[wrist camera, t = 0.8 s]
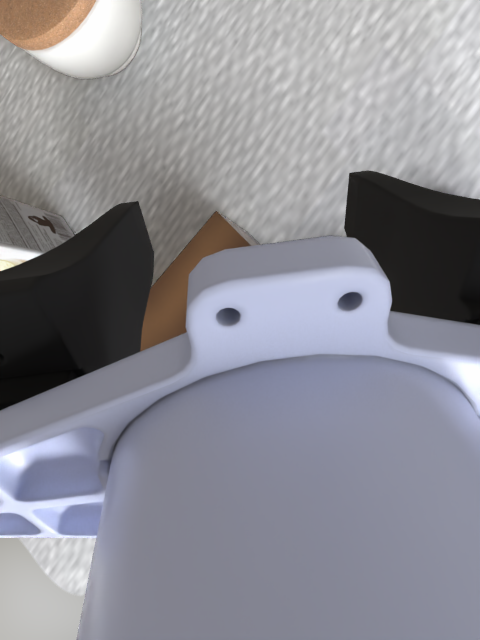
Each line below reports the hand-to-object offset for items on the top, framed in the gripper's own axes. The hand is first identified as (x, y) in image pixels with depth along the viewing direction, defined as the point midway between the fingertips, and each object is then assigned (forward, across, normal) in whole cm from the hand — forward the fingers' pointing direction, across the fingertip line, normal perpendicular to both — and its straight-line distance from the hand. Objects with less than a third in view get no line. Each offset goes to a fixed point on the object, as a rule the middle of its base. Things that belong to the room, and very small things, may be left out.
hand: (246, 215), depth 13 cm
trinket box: (+29, +9, -3) cm, 31 cm away
